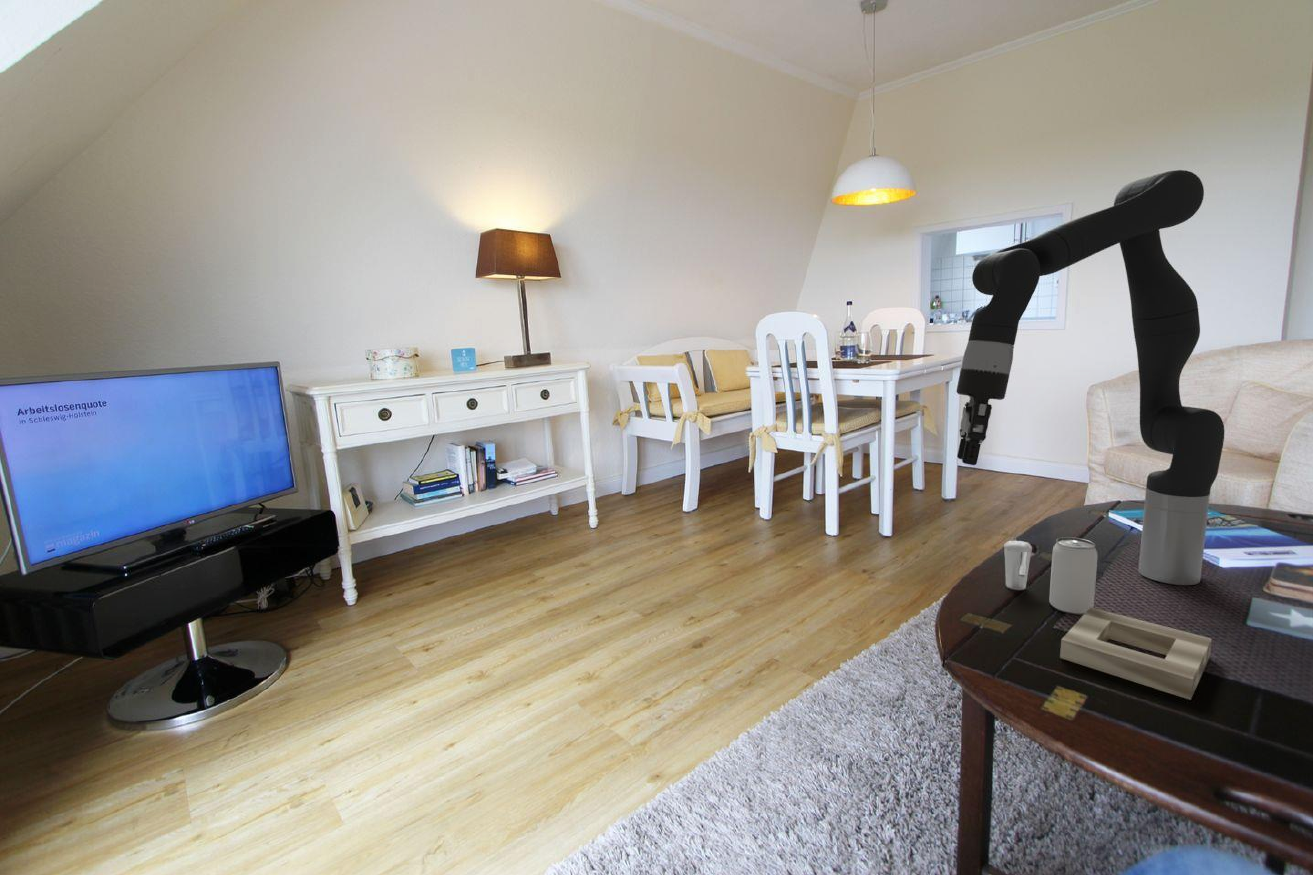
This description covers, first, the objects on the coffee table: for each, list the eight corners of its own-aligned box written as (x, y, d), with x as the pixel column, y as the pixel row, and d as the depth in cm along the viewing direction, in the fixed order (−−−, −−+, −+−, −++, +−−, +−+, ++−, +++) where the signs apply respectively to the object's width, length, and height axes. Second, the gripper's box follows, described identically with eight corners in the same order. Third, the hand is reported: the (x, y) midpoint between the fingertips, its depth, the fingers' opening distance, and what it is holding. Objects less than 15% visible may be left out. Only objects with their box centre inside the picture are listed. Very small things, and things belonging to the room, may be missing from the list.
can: (1079, 599, 110) (1084, 536, 108) (1101, 615, 104) (1107, 548, 102) (1041, 599, 111) (1045, 536, 109) (1061, 615, 104) (1066, 549, 102)
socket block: (1089, 624, 101) (1090, 607, 100) (1209, 657, 90) (1211, 638, 89) (1059, 657, 91) (1061, 639, 91) (1190, 699, 80) (1193, 679, 80)
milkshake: (1025, 581, 118) (1028, 532, 117) (1032, 592, 113) (1035, 541, 112) (998, 579, 120) (1001, 531, 118) (1004, 590, 115) (1007, 540, 113)
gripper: (1017, 371, 96) (996, 470, 98) (1002, 374, 109) (984, 461, 111) (965, 365, 99) (945, 461, 101) (957, 368, 112) (940, 454, 114)
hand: (966, 461), depth 106 cm, fingers open, 8 cm apart
